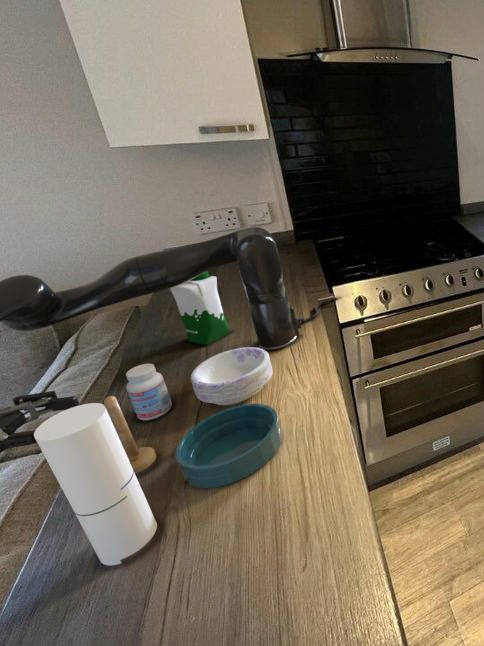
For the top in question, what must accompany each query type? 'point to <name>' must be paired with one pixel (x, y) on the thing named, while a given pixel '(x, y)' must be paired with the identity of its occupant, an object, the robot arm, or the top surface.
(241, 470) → the bowl
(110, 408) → the wooden peg on disc
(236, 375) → the paper bowls
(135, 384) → the pill bottle
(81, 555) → the top surface
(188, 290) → the milk carton
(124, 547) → the cylindrical container
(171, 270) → the robot arm
